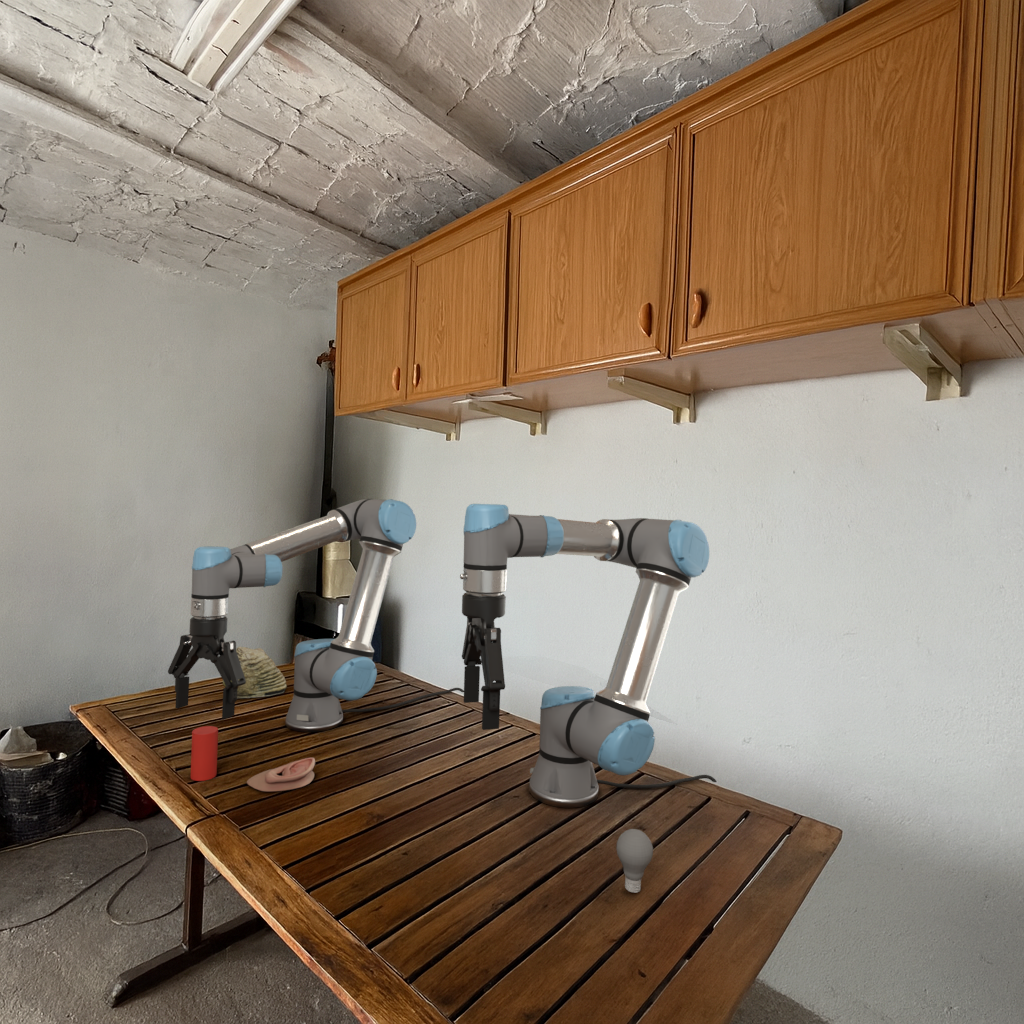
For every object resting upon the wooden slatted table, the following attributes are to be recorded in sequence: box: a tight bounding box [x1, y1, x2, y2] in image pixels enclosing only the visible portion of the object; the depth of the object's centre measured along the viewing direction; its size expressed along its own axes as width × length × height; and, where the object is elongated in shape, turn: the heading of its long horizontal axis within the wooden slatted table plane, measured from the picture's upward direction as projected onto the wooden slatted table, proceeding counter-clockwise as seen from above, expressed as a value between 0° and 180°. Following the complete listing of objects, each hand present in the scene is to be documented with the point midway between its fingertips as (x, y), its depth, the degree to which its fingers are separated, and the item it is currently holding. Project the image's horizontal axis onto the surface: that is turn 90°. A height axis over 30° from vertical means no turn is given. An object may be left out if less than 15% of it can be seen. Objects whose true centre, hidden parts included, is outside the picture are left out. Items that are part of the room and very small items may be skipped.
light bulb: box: [615, 828, 654, 894], centre depth 106 cm, size 6×6×10 cm
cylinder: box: [190, 725, 219, 782], centre depth 141 cm, size 5×5×10 cm
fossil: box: [222, 646, 288, 699], centre depth 198 cm, size 9×18×15 cm, turn 132°
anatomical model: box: [246, 757, 316, 792], centre depth 140 cm, size 13×4×12 cm
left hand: (204, 711), depth 141 cm, fingers open, 13 cm apart
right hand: (480, 714), depth 110 cm, fingers open, 13 cm apart
